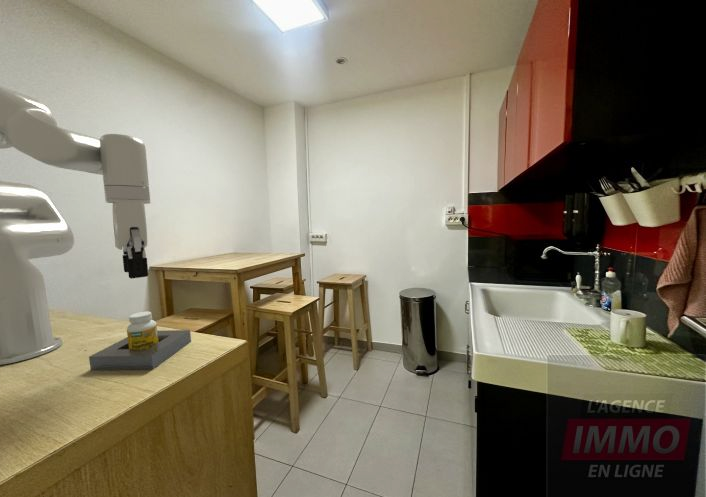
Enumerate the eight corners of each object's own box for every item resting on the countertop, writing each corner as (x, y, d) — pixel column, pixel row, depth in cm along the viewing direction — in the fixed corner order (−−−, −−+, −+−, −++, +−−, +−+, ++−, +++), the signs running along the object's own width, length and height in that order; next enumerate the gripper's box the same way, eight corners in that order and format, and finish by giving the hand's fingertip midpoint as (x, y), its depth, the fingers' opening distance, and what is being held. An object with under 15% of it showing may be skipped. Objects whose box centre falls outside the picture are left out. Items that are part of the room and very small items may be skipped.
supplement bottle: (159, 347, 66) (155, 308, 65) (159, 355, 62) (154, 314, 61) (131, 353, 64) (127, 313, 62) (128, 363, 59) (123, 320, 58)
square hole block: (90, 370, 56) (88, 356, 56) (140, 342, 69) (139, 331, 69) (152, 369, 56) (151, 355, 56) (191, 341, 69) (190, 330, 69)
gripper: (103, 198, 63) (110, 271, 64) (107, 191, 50) (116, 283, 52) (143, 199, 68) (150, 267, 70) (156, 194, 55) (163, 277, 57)
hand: (135, 274), depth 61 cm, fingers open, 9 cm apart
